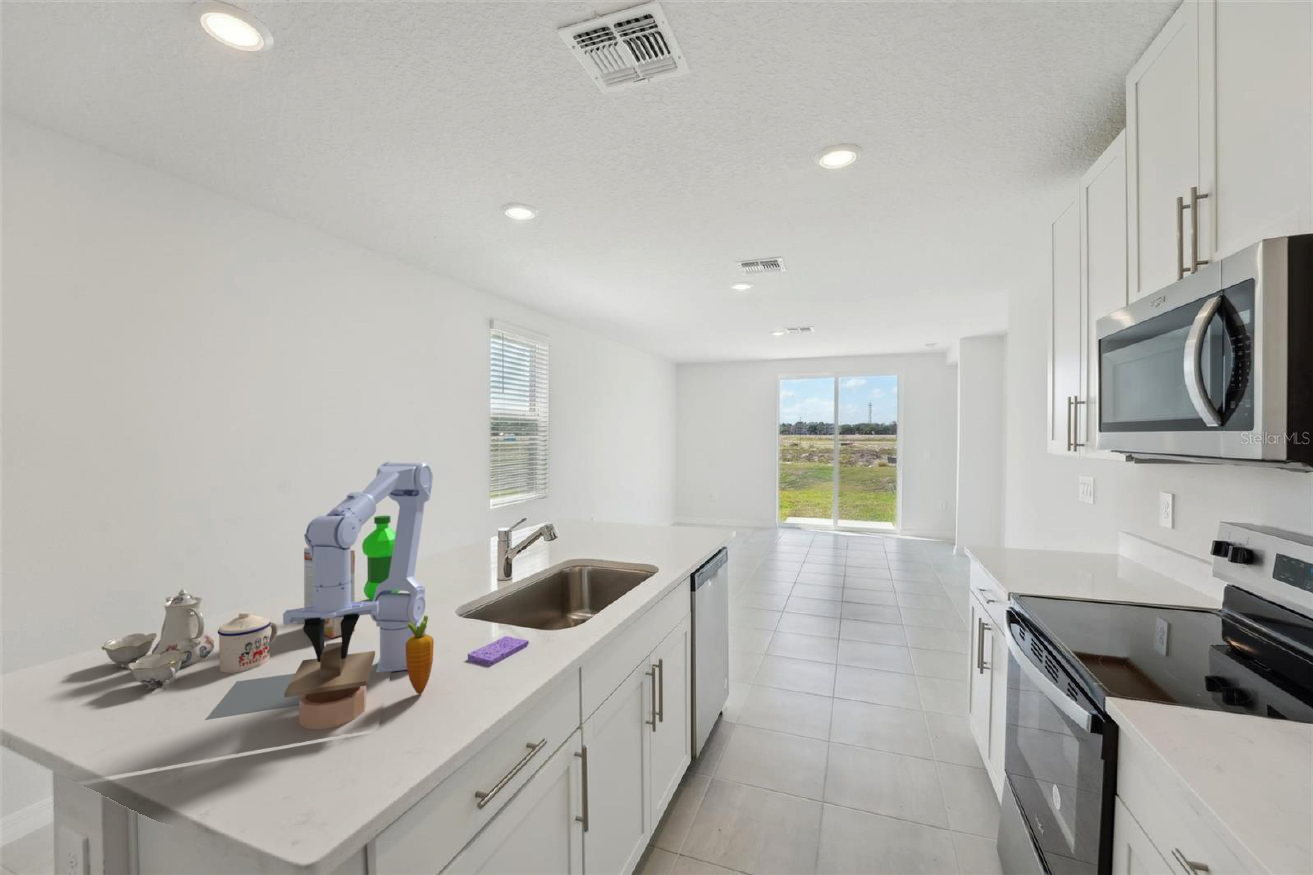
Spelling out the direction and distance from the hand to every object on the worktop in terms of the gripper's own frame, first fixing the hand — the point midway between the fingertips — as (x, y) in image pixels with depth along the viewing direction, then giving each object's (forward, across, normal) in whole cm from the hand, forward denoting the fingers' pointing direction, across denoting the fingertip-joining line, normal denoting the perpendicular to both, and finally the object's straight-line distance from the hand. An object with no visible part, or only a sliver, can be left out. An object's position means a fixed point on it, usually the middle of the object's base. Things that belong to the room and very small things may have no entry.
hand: (332, 658), depth 96 cm
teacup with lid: (+11, -21, +31) cm, 39 cm away
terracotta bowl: (+10, 0, 0) cm, 10 cm away
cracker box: (+11, -9, +47) cm, 49 cm away
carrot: (+11, +14, +3) cm, 18 cm away
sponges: (+11, +30, +18) cm, 37 cm away
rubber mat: (+10, -13, +13) cm, 21 cm away
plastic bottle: (+11, +1, +68) cm, 69 cm away
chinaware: (+11, -37, +34) cm, 52 cm away
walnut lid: (+3, 0, 0) cm, 3 cm away
